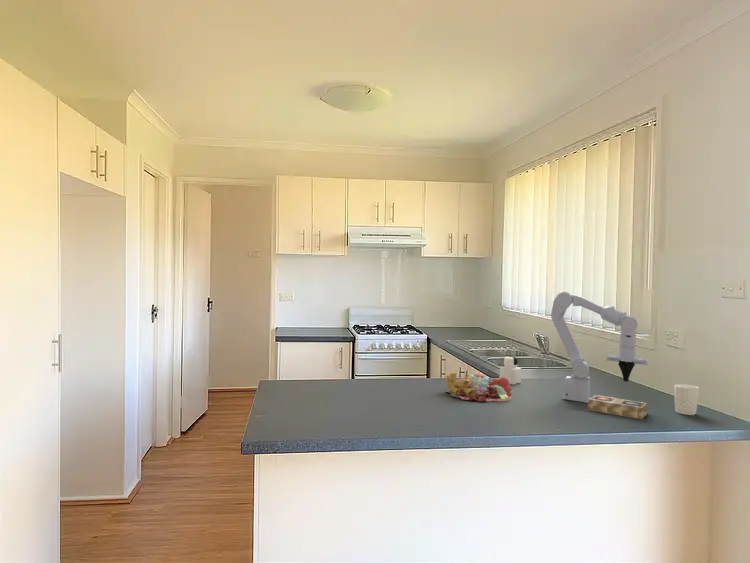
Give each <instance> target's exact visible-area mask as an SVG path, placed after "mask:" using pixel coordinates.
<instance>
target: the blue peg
mask: <svg viewBox="0 0 750 563" xmlns="http://www.w3.org/2000/svg"><path fill="white" fill-rule="evenodd" d="M626 404H631V405H637V406H639V404H638V403H634V402H626Z"/></svg>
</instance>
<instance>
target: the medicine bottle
mask: <svg viewBox="0 0 750 563" xmlns="http://www.w3.org/2000/svg"><path fill="white" fill-rule="evenodd" d="M518 360H519V359H518V357H515V356H512V355H511V356H505V357H504V358H503V365H504V366H500V367H499V376H498V377H499V378H498V380H499V379H500V378H502V377H506V378H507V379H508V380H509V385H510V384H515V383H519V382H522V367H519V366H518V365H519V364H518V363H519V362H518ZM519 384H520V383H519ZM515 385H516V384H515Z"/></svg>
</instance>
